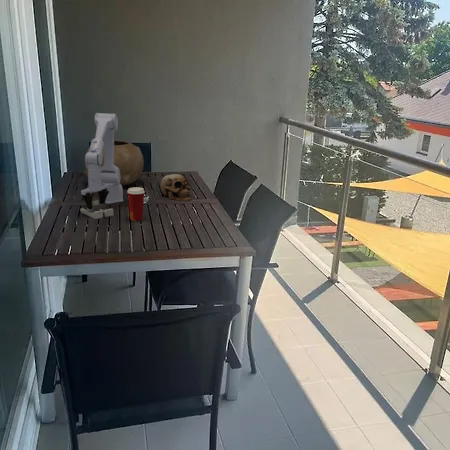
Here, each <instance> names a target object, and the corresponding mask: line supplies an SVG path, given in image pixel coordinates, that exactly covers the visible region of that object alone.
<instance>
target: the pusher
mask: <svg viewBox="0 0 450 450" xmlns="http://www.w3.org/2000/svg"><path fill="white" fill-rule="evenodd" d="M106 209H107V203H104V204H100V203H99V204H98V205H92V212H96V211H103V215H104V213H105V214H108V212H106V211H104V210H106Z"/></svg>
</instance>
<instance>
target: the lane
mask: <svg viewBox="0 0 450 450" xmlns="http://www.w3.org/2000/svg"><path fill="white" fill-rule="evenodd" d="M104 211H106V212H108V214H105V213H104V214H103V211H96V212H93V213H91V212H89V211H87V209H85V208H80V213H81V214H84V215H86V216H87V217H90V218H92V219H94V220H96V219H102V218H104V217H105V218H107V217H113V216H114V208H108V209H107V208H106V210H104Z"/></svg>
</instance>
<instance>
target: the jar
mask: <svg viewBox="0 0 450 450" xmlns="http://www.w3.org/2000/svg"><path fill="white" fill-rule="evenodd" d="M98 204H100V198H99V196H94V195H93V198H92V205H98ZM86 210H87V211H89V212H91V213H93V212H92V209H88V208H87V207H86Z"/></svg>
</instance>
